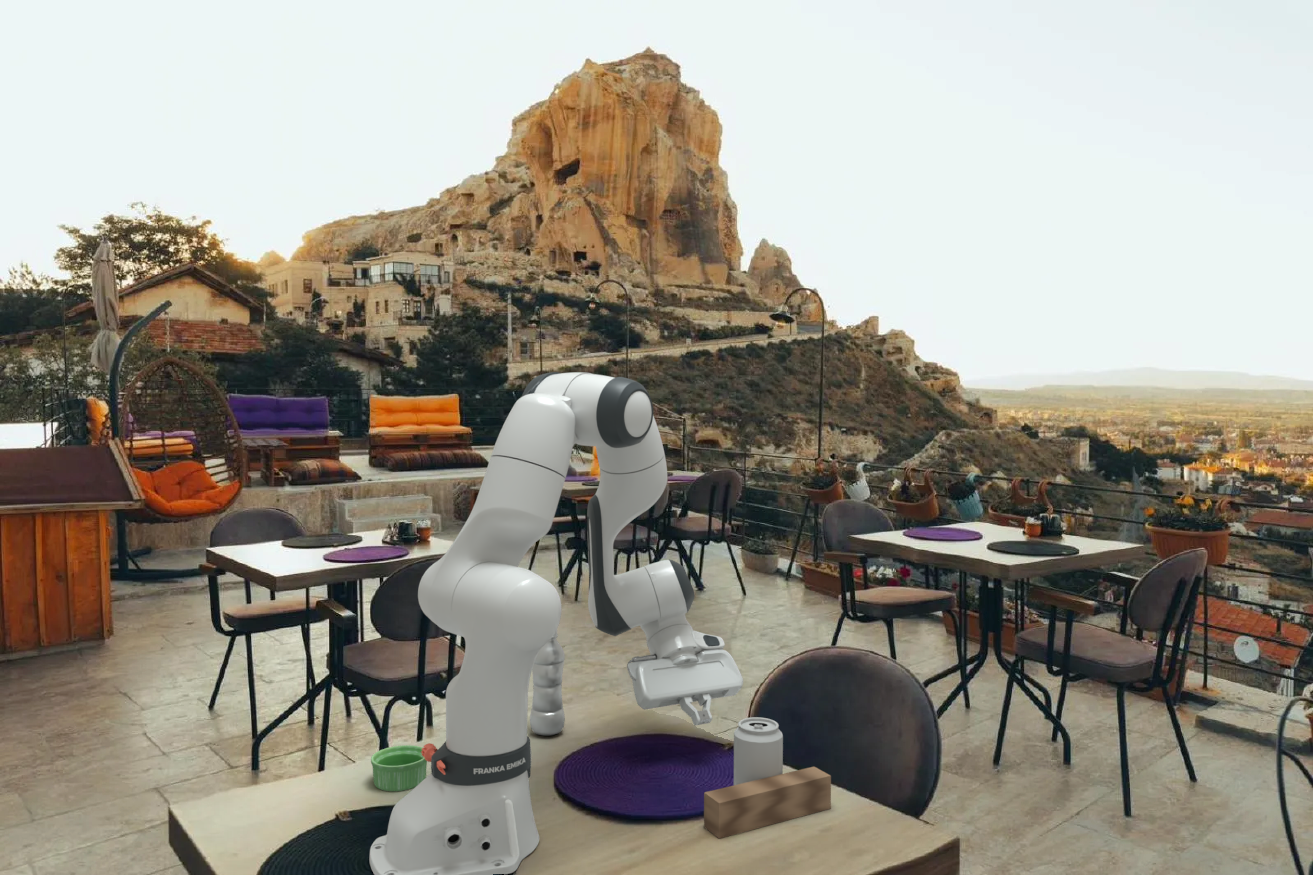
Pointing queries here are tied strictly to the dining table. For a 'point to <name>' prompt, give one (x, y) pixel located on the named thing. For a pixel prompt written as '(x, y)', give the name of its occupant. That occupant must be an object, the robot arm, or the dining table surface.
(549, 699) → the plastic bottle
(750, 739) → the can
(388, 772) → the ramekin
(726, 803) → the wooden block
